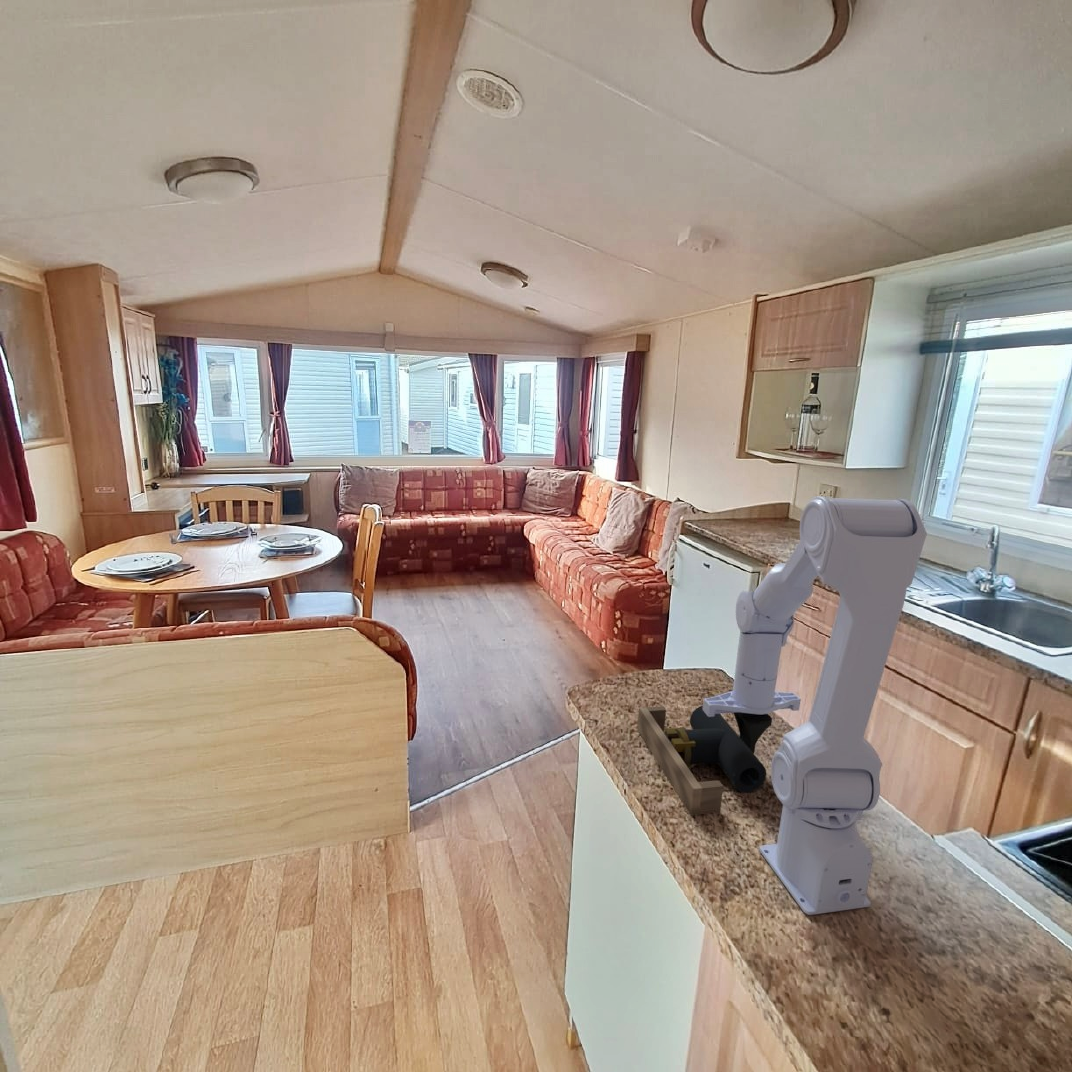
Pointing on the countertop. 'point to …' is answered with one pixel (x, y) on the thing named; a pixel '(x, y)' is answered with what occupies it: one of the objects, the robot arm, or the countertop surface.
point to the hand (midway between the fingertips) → (744, 753)
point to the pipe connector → (718, 750)
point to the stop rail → (677, 765)
